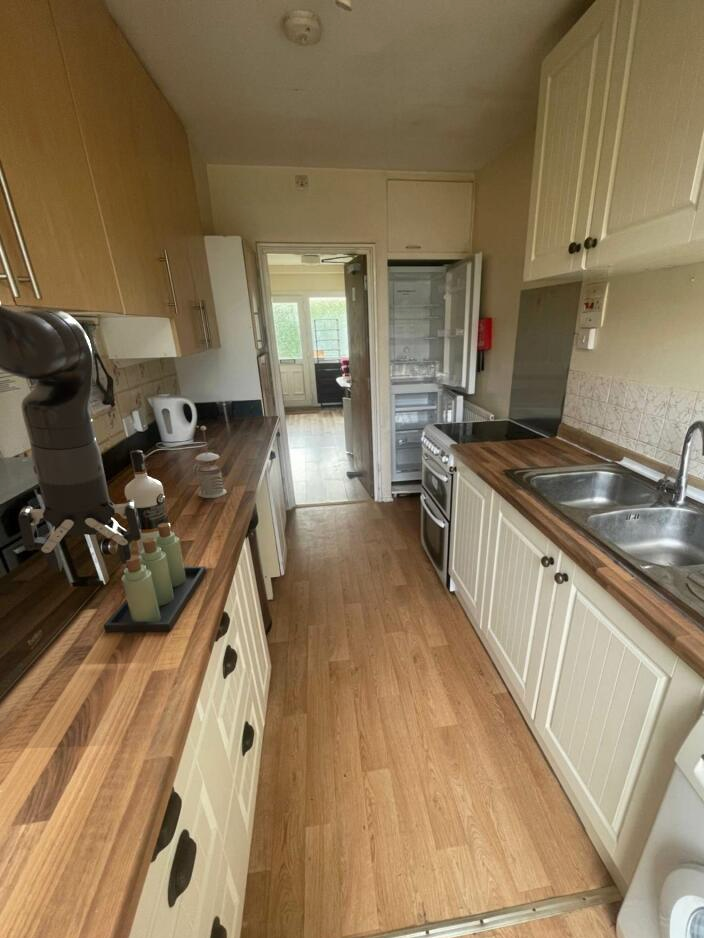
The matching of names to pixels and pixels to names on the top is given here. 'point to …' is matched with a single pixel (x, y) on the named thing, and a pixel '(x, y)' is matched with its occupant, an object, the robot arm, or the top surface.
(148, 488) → the vodka
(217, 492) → the french press
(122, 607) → the tray
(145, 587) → the bottle loose
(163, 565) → the bottle mid
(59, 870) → the top surface
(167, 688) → the top surface
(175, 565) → the bottle back
